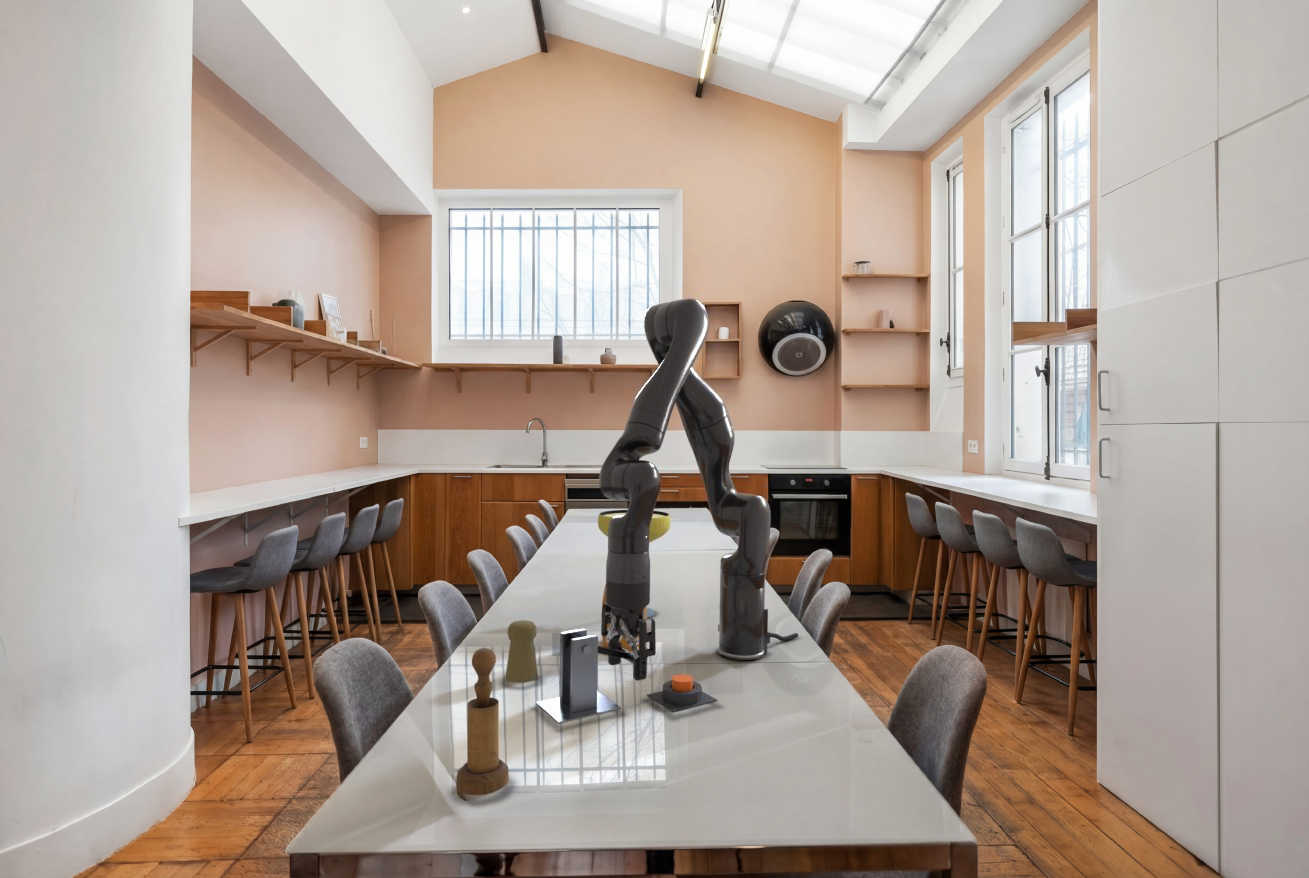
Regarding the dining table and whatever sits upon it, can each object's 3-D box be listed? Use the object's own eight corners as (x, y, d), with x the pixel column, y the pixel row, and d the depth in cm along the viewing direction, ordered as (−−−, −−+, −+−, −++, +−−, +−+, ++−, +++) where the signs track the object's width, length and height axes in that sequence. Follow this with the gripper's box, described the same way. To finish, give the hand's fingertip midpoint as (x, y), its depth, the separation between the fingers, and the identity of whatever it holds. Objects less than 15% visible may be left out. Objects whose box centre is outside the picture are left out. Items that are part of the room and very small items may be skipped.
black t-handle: (621, 658, 120) (625, 644, 120) (639, 668, 115) (643, 654, 115) (561, 645, 113) (566, 631, 114) (577, 656, 108) (582, 641, 109)
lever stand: (595, 695, 119) (596, 622, 119) (620, 714, 111) (622, 636, 111) (535, 709, 113) (536, 631, 113) (558, 730, 105) (559, 647, 105)
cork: (530, 689, 121) (531, 627, 121) (499, 686, 122) (499, 625, 122) (543, 677, 127) (544, 618, 127) (512, 674, 128) (513, 616, 128)
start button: (684, 682, 118) (684, 672, 118) (696, 689, 115) (697, 679, 115) (667, 686, 116) (667, 676, 116) (679, 694, 113) (679, 683, 113)
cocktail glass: (605, 602, 181) (606, 508, 181) (672, 606, 179) (674, 510, 179) (589, 621, 164) (590, 517, 163) (664, 625, 161) (665, 519, 161)
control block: (689, 690, 122) (689, 674, 122) (717, 706, 115) (717, 689, 115) (646, 701, 117) (646, 683, 117) (673, 718, 110) (673, 699, 110)
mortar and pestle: (462, 775, 91) (463, 641, 91) (511, 774, 92) (513, 640, 91) (451, 803, 85) (452, 658, 84) (504, 801, 85) (506, 657, 85)
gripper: (669, 582, 113) (668, 680, 113) (626, 567, 125) (624, 655, 125) (630, 587, 109) (629, 689, 109) (589, 571, 121) (587, 662, 121)
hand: (626, 671), depth 117 cm, fingers open, 8 cm apart
